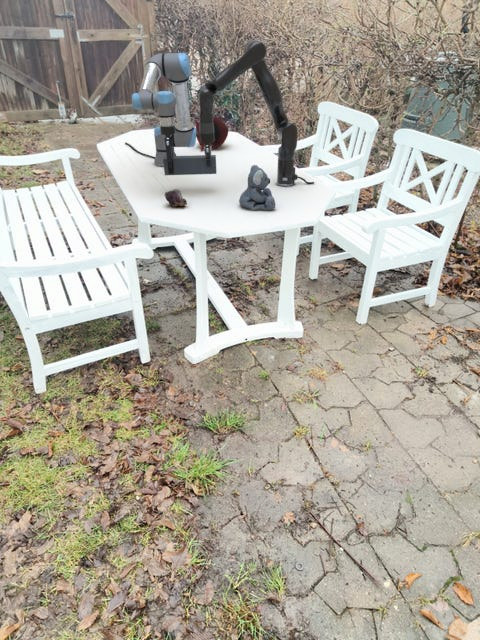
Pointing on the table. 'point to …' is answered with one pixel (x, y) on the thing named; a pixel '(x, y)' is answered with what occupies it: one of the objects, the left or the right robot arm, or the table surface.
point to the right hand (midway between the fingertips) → (208, 165)
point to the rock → (175, 198)
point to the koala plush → (257, 191)
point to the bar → (191, 165)
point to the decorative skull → (219, 133)
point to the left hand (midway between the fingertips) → (171, 171)
